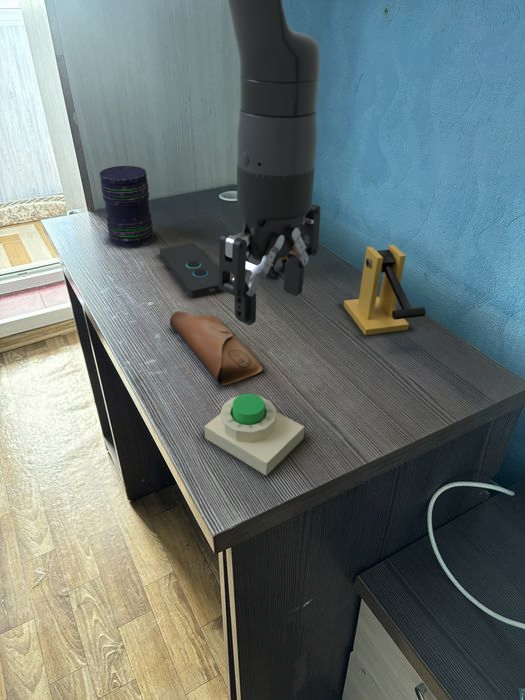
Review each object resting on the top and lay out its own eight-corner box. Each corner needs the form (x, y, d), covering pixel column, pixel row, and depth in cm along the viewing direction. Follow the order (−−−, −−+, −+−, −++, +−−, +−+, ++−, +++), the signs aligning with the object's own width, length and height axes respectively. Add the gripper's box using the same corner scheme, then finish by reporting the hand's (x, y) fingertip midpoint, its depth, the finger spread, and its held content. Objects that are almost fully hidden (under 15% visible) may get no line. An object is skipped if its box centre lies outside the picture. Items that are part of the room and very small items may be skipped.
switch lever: (422, 319, 81) (428, 310, 79) (393, 323, 80) (398, 314, 78) (392, 258, 88) (397, 248, 86) (365, 261, 87) (369, 251, 85)
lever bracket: (408, 329, 89) (423, 262, 82) (365, 335, 87) (376, 266, 80) (383, 301, 97) (394, 237, 90) (343, 306, 95) (351, 240, 88)
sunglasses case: (268, 368, 78) (248, 343, 74) (233, 399, 78) (211, 376, 73) (214, 314, 91) (194, 290, 86) (183, 341, 90) (162, 318, 86)
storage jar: (158, 244, 116) (151, 177, 107) (113, 250, 112) (102, 181, 104) (148, 228, 123) (141, 164, 114) (106, 233, 120) (95, 168, 111)
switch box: (303, 438, 67) (305, 415, 65) (266, 476, 62) (267, 452, 60) (244, 406, 72) (244, 384, 70) (204, 438, 67) (203, 415, 65)
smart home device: (189, 290, 95) (157, 248, 110) (190, 298, 96) (158, 256, 111) (231, 281, 98) (194, 242, 113) (231, 289, 99) (195, 249, 114)
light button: (270, 412, 66) (271, 402, 65) (251, 430, 63) (251, 419, 62) (246, 399, 68) (246, 389, 67) (226, 415, 65) (226, 405, 64)
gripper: (259, 186, 43) (255, 346, 52) (348, 153, 52) (332, 294, 62) (195, 168, 47) (202, 320, 56) (289, 140, 56) (282, 275, 65)
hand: (270, 306), depth 59 cm, fingers open, 8 cm apart
